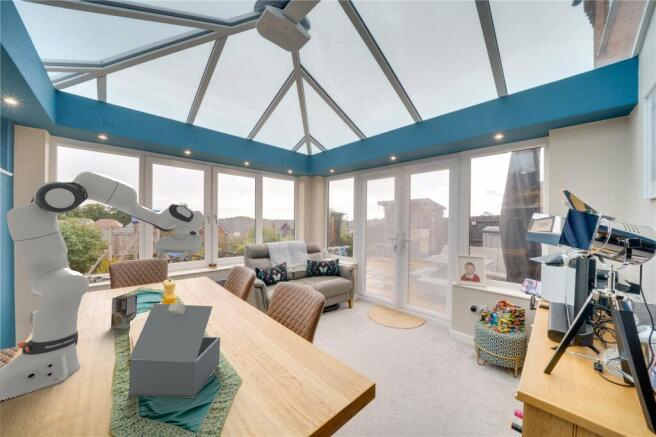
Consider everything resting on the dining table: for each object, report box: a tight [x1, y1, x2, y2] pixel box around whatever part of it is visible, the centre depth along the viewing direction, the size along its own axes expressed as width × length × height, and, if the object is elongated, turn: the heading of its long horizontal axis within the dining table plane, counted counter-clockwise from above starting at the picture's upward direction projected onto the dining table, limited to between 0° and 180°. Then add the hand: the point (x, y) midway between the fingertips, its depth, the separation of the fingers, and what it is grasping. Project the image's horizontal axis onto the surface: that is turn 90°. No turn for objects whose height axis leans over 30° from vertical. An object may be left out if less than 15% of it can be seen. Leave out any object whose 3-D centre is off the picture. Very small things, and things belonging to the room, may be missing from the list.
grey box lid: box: [128, 302, 213, 362], centre depth 83 cm, size 18×22×6 cm
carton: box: [128, 335, 221, 399], centre depth 89 cm, size 18×22×12 cm
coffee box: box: [110, 294, 138, 330], centre depth 130 cm, size 9×6×16 cm
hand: (169, 259), depth 107 cm, fingers open, 8 cm apart
